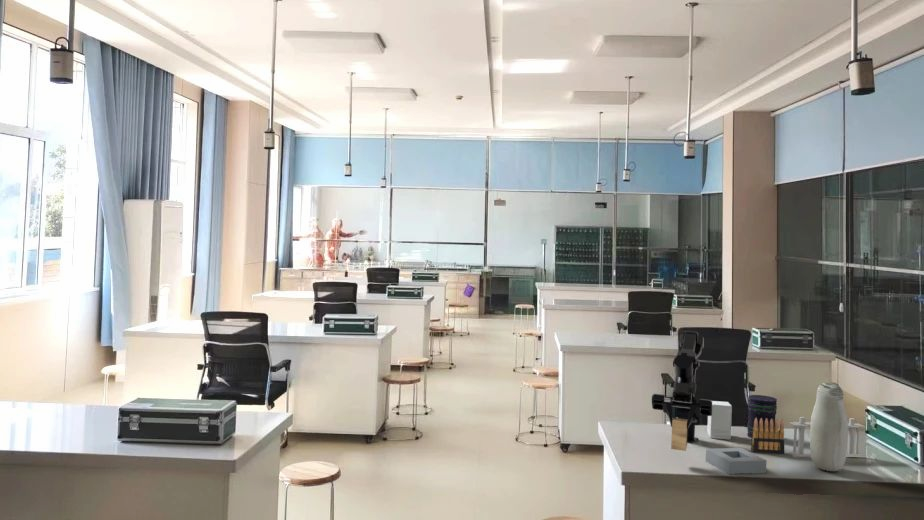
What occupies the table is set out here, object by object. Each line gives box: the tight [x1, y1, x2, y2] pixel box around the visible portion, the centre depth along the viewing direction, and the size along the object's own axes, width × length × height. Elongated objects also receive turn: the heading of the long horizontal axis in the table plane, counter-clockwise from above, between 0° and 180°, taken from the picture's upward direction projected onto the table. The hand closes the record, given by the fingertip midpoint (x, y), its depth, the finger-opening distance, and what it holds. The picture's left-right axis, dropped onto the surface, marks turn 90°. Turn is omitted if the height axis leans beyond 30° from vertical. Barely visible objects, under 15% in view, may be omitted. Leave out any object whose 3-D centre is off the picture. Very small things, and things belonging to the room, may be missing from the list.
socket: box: [705, 447, 767, 475], centre depth 213 cm, size 13×13×4 cm
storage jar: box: [746, 394, 778, 439], centre depth 249 cm, size 10×10×15 cm
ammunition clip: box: [750, 418, 785, 455], centre depth 230 cm, size 11×2×12 cm, turn 87°
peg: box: [670, 417, 688, 452], centre depth 213 cm, size 4×4×9 cm
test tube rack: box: [786, 416, 866, 458], centre depth 229 cm, size 25×4×13 cm, turn 93°
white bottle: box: [809, 382, 849, 472], centre depth 213 cm, size 10×10×28 cm
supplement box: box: [706, 400, 733, 441], centre depth 249 cm, size 7×7×13 cm
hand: (679, 427), depth 212 cm, fingers closed on peg, 4 cm apart
